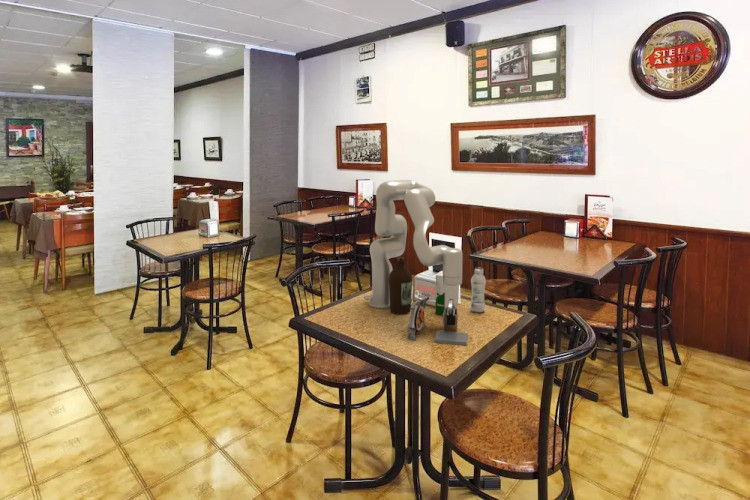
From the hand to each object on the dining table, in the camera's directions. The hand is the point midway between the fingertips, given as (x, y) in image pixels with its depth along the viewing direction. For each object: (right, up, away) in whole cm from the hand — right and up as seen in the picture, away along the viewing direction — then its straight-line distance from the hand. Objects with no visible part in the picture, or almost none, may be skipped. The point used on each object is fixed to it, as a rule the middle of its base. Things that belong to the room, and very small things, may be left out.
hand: (451, 320), depth 180 cm
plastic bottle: (+15, 0, +22) cm, 26 cm away
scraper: (0, -4, +1) cm, 4 cm away
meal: (-14, -5, -3) cm, 15 cm away
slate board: (-2, -6, -9) cm, 11 cm away
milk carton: (+1, 0, +21) cm, 21 cm away
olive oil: (-19, 0, +23) cm, 30 cm away
